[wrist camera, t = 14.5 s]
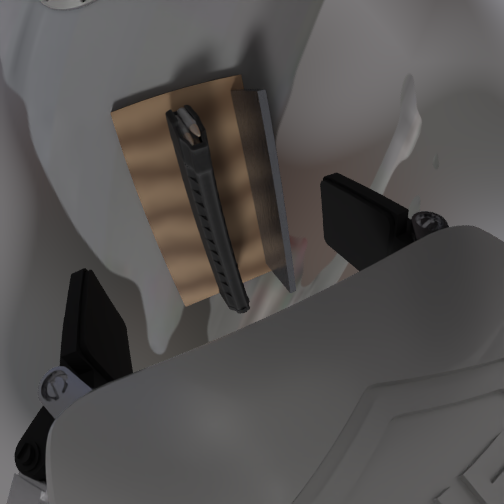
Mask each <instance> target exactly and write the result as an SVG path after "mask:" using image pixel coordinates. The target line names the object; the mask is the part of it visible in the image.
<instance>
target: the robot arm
mask: <svg viewBox="0 0 504 504" xmlns="http://www.w3.org/2000/svg"><path fill="white" fill-rule="evenodd" d="M40 1H41V2H42V3H43V4H44V5H45V6H47V7H48V8H51V9H54V10H72V9H77V8H80V7H83V6H86V5H89V4H91V3H93V2H95V1H96V0H86V1H85V2H83V1H84V0H49V1H47V0H40ZM320 187H321V199H322V213H323V229H324V239H325V241H326V243H327V244H328V245H329V246H330V247H331V248H332V249H334V250H335V251H336V252H337V253H338V254H340V255H341V256H342V257H343V258H344V259H346V260H347V261H348V262H349V263H350V264H352V265H353V266H354V267H355V268H356V269H357V270H359V272H358V273H356V274H354V275H352V276H350V277H348V278H346V279H344V280H342V281H340V282H338V283H336V284H334V285H332V286H330V287H328V288H327V289H325V290H323V291H321V292H319V293H316V294H314V295H312V296H310V297H308V298H306V299H304V300H302V301H300V302H298V303H296V304H294V305H292V306H290V307H288V308H285V309H283V310H281V311H279V312H277V313H275V314H273V315H270V316H268V317H266V318H264V319H262V320H259V321H257V322H255V323H253V324H251V325H248V326H246V327H244V328H242V329H239V330H237V331H235V332H232V333H230V334H228V335H225V336H223V337H221V338H218V339H216V340H214V341H211V342H209V343H207V344H204V345H202V346H200V347H197V348H195V349H192V350H190V351H187V352H185V353H182V354H180V355H177V356H175V357H172V358H170V359H167V360H165V361H162V362H160V363H157V364H155V365H152V366H149V367H147V368H144V369H142V370H139V371H137V372H134V373H133V370H132V364H131V357H130V351H129V344H128V336H127V328H126V325H125V323H124V321H123V319H122V318H121V316H120V314H119V313H118V311H117V310H116V308H115V307H114V305H113V304H112V302H111V301H110V299H109V297H108V296H107V294H106V293H105V291H104V289H103V288H102V286H101V285H100V283H99V281H98V279H97V277H96V276H95V274H94V272H93V271H92V270H89V271H88V270H86V269H85V268H84V269H82V270H79V271H77V272H75V273H73V274H71V279H70V285H69V290H68V297H67V304H66V311H65V317H64V323H63V332H62V342H61V354H60V366H58V367H54V368H52V369H51V370H49V371H48V372H47V373H46V374H45V375H44V376H43V377H42V379H41V381H40V383H39V386H38V398H39V400H40V401H41V403H42V404H43V407H42V408H41V409H40V411H39V412H38V414H37V416H36V417H35V418H34V420H33V421H32V423H31V424H30V426H29V427H28V429H27V430H26V432H25V433H24V435H23V437H22V438H21V440H20V441H19V443H18V445H17V447H16V451H15V463H16V466H17V468H18V470H19V475H17V474H14V478H13V481H12V485H11V489H10V493H9V497H8V501H7V504H504V242H503V241H501V240H500V239H498V238H497V237H495V236H493V235H492V234H490V233H488V232H486V231H484V230H482V229H480V228H478V227H475V226H469V225H468V226H467V225H465V226H464V225H462V226H453V227H449V226H448V223H447V221H446V220H445V219H444V218H443V217H442V216H440V215H438V214H436V213H433V212H428V211H421V212H417V213H415V214H414V215H413V216H412V219H409V218H408V211H409V210H408V209H406V208H404V207H403V206H401V205H399V204H397V203H395V202H394V201H392V200H390V199H388V198H386V197H385V196H383V195H381V194H379V193H377V192H375V191H373V190H371V189H369V188H367V187H365V186H363V185H361V184H359V183H357V182H355V181H353V180H351V179H349V178H347V177H345V176H343V175H341V174H339V173H334V174H331V175H328V176H325V177H324V178H323V181H321V184H320Z"/></svg>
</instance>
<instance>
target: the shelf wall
mask: <svg viewBox="0 0 504 504" xmlns="http://www.w3.org/2000/svg"><path fill="white" fill-rule="evenodd" d="M230 92H231V96H232V101H233V106H234V110H235V115H236V120H237V125H238V129H239V134H240V139H241V143H242V148H243V153H244V158H245V163H246V167H247V172H248V177H249V182H250V187H251V192H252V196H253V201H254V206H255V211H256V216H257V221H258V226H259V231H260V236H261V241H262V246H263V251H264V256H265V261H266V264H267V265H268V267H269V268H270V269H271V270H272V272H273V273H274V274H275V275H276V276H277V278H278V279H279V280H280V281H281V282H282V284H283V285H284V286H285V287H286V288H287V290H288V291H289V292H290V293H292V292H294V291H296V287H295V278H294V270H293V262H292V254H291V247H290V239H289V232H288V225H287V217H286V212H285V204H284V197H283V190H282V183H281V177H280V172H279V164H278V158H277V152H276V146H275V140H274V134H273V128H272V122H271V117H270V111H269V106H268V100H267V95H266V90H261V89H236V90H232V91H230Z"/></svg>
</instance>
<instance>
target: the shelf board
mask: <svg viewBox="0 0 504 504" xmlns="http://www.w3.org/2000/svg"><path fill="white" fill-rule="evenodd" d="M236 89H244V86H243V82H242V77H241V75H235V76H230V77H226V78H221V79H217V80H212V81H208V82H204V83H200V84H196V85H192V86H189V87H185V88H182V89H178V90H175V91H171V92H168V93H165V94H161V95H158V96H155V97H152V98H149V99H146V100H143V101H140V102H137V103H135V104H132V105H129V106H126V107H124V108H121V109H118V110H116V111H113V112H111V116H112V119H113V123H114V126H115V129H116V132H117V135H118V138H119V142H120V145H121V148H122V151H123V154H124V156H125V159H126V162H127V165H128V168H129V171H130V174H131V176H132V179H133V182H134V185H135V187H136V190H137V193H138V196H139V198H140V201H141V203H142V206H143V209H144V211H145V214H146V216H147V219H148V221H149V224H150V226H151V229H152V231H153V234H154V236H155V239H156V241H157V243H158V246H159V248H160V250H161V253H162V255H163V258H164V260H165V262H166V264H167V267H168V269H169V271H170V273H171V276H172V278H173V280H174V282H175V285H176V287H177V289H178V291H179V293H180V295H181V298H182V300H183V302H184V304H185V306H189V305H191V304H193V303H196V302H198V301H201V300H203V299H206V298H208V297H210V296H213V295H215V294H218V293H219V288H218V285H217V283H216V280H215V277H214V274H213V271H212V269H211V266H210V263H209V260H208V257H207V255H206V252H205V249H204V246H203V243H202V240H201V237H200V234H199V231H198V228H197V225H196V222H195V219H194V215H193V212H192V209H191V206H190V203H189V199H188V196H187V193H186V189H185V186H184V183H183V179H182V176H181V172H180V168H179V165H178V161H177V157H176V154H175V150H174V146H173V142H172V140H171V136H170V132H169V128H168V124H167V120H166V115H165V113H166V112H167V111H168V110H170V109H171V110H172V112H175V111H177V110H178V109H179V108H182V107H183V108H184V105H189V106H191V107H192V109H193V110H194V111H195V112H196V113H197V114H198V115H199V117H200V120H201V122H202V124H203V126H204V127H205V129H206V133H207V139H208V144H209V149H210V154H211V161H212V166H213V170H214V175H215V180H216V184H217V189H218V192H219V198H220V202H221V205H222V210H223V214H224V217H225V222H226V226H227V229H228V234H229V237H230V241H231V244H232V248H233V251H234V255H235V259H236V262H237V265H238V269H239V272H240V275H241V279H242V282H243V283H244V282H246V281H248V280H251V279H253V278H255V277H258V276H260V275H262V274H265V273H267V272H269V271H272V270H271V269H270V268H269V267H268V265H267V264H266V261H265V256H264V251H263V246H262V241H261V236H260V231H259V226H258V221H257V216H256V211H255V206H254V201H253V196H252V192H251V187H250V182H249V177H248V172H247V167H246V163H245V158H244V153H243V148H242V143H241V139H240V134H239V129H238V125H237V120H236V115H235V110H234V106H233V101H232V96H231V92H230V91H232V90H236Z"/></svg>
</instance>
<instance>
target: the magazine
mask: <svg viewBox="0 0 504 504" xmlns="http://www.w3.org/2000/svg"><path fill="white" fill-rule="evenodd" d="M165 115H166V120H167V124H168V128H169V132H170V136H171V140H172V142H173V146H174V150H175V154H176V157H177V161H178V165H179V168H180V172H181V176H182V179H183V183H184V186H185V189H186V193H187V196H188V199H189V203H190V206H191V209H192V212H193V215H194V219H195V222H196V225H197V228H198V231H199V234H200V237H201V240H202V243H203V246H204V249H205V252H206V255H207V257H208V260H209V263H210V266H211V269H212V271H213V274H214V277H215V280H216V283H217V285H218V288H219V293H220V294H221V296H222V297H223V299H224V301H225V302H226V304H227V305H228V307H229V309H231V310H235V311H237V313H245V312H247V310H249V309H250V307H249V302H250V301H249V298H248V296H247V294H246V291H245V288H244V284H243V282H242V279H241V275H240V272H239V269H238V265H237V262H236V259H235V255H234V251H233V248H232V244H231V241H230V237H229V234H228V229H227V226H226V222H225V217H224V214H223V210H222V205H221V202H220V198H219V192H218V189H217V184H216V180H215V175H214V170H213V166H212V161H211V154H210V149H209V144H208V139H207V133H206V129H205V127H204V126H203V124H202V122H201V120H200V117H199V115H198V114H197V113H196V112H195V111H194V110H193V109H192V107H191V106H189V105H184V108H183V107H182V108H179V109H178V110H177V111H175V112H172V110H171V109H170V110H168V111H167V112H166V113H165Z"/></svg>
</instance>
